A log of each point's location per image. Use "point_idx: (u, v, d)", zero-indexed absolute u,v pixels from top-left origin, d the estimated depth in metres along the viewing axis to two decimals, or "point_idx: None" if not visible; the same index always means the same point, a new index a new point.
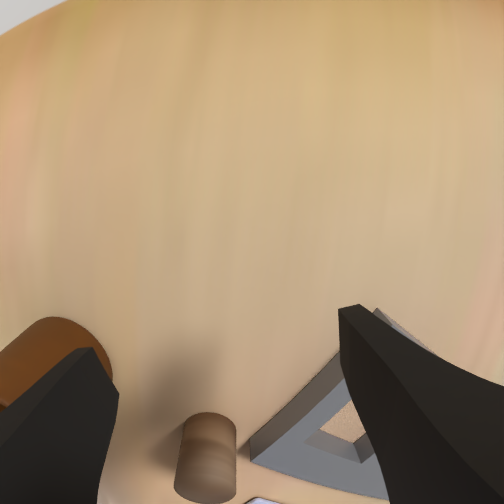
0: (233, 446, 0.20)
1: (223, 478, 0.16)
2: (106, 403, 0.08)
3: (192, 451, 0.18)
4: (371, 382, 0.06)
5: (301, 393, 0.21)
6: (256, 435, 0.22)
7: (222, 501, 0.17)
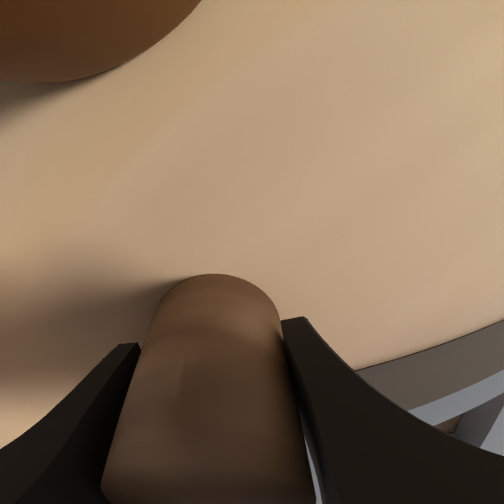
0: None
1: (315, 499, 0.04)
2: None
3: (239, 373, 0.06)
4: (301, 398, 0.06)
5: (421, 357, 0.11)
6: None
7: None
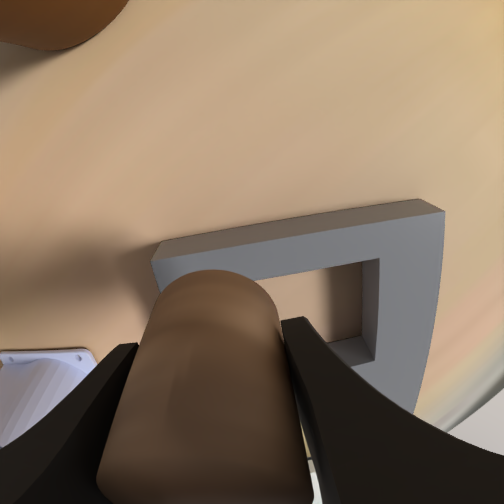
0: None
1: (313, 494, 0.04)
2: None
3: (233, 366, 0.06)
4: (302, 398, 0.06)
5: (282, 221, 0.16)
6: (176, 240, 0.16)
7: None
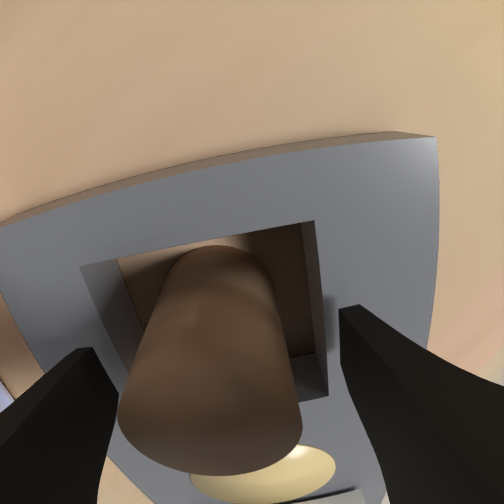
0: None
1: None
2: (106, 403, 0.08)
3: (233, 311, 0.07)
4: (371, 382, 0.06)
5: (156, 171, 0.09)
6: (28, 211, 0.10)
7: (208, 472, 0.07)
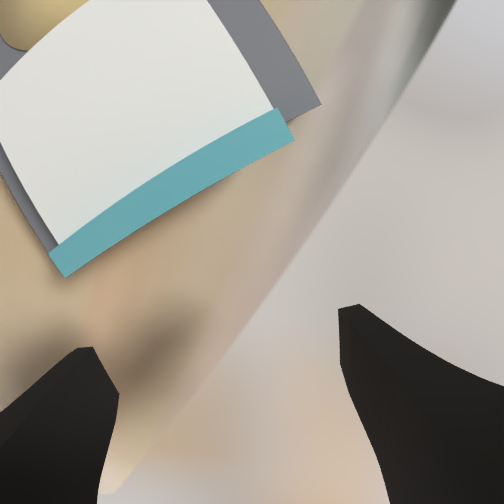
0: None
1: None
2: (106, 403, 0.08)
3: None
4: (371, 382, 0.06)
5: None
6: None
7: None
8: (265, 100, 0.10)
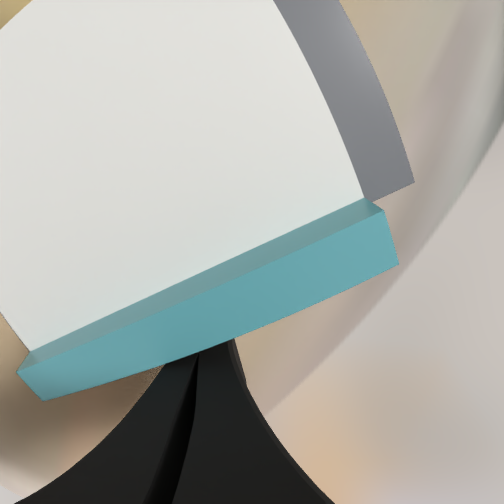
0: None
1: None
2: None
3: None
4: None
5: None
6: None
7: None
8: (354, 182, 0.06)
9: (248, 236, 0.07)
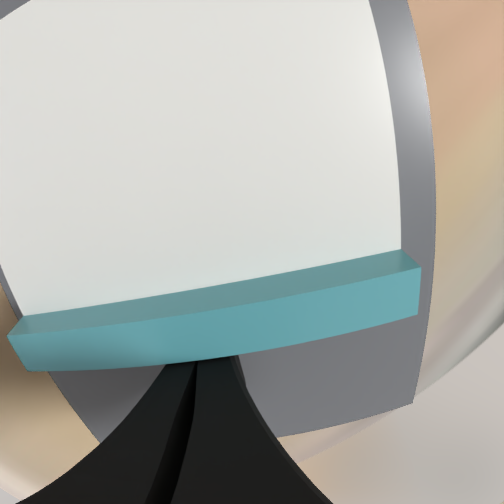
0: None
1: None
2: None
3: None
4: None
5: None
6: None
7: None
8: (397, 234, 0.07)
9: (294, 258, 0.07)
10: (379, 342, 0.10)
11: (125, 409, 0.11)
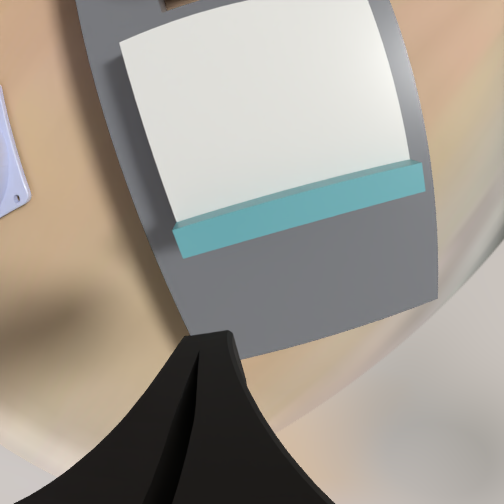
0: None
1: None
2: None
3: None
4: None
5: None
6: None
7: None
8: (406, 150, 0.12)
9: (355, 164, 0.12)
10: (407, 243, 0.15)
11: (235, 318, 0.16)
